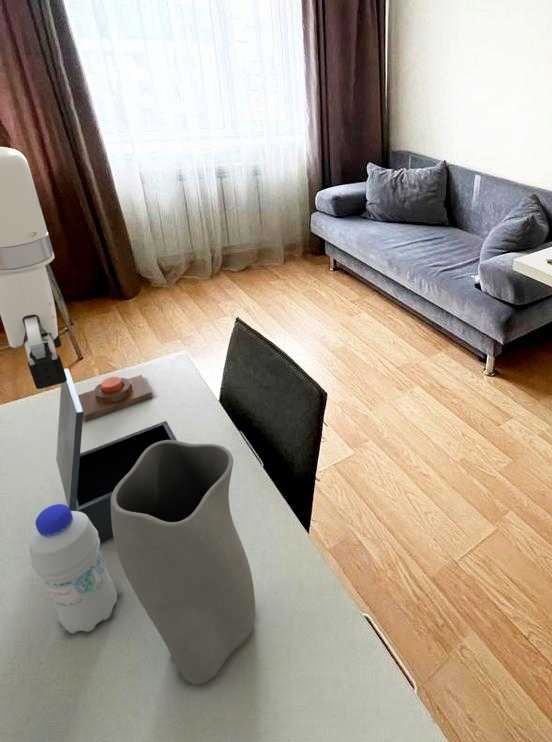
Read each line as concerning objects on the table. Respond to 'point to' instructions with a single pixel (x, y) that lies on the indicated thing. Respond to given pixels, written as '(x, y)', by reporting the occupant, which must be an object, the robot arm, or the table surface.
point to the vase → (185, 553)
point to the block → (114, 398)
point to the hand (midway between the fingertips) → (49, 365)
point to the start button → (112, 384)
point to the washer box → (111, 473)
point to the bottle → (72, 567)
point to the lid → (69, 439)
